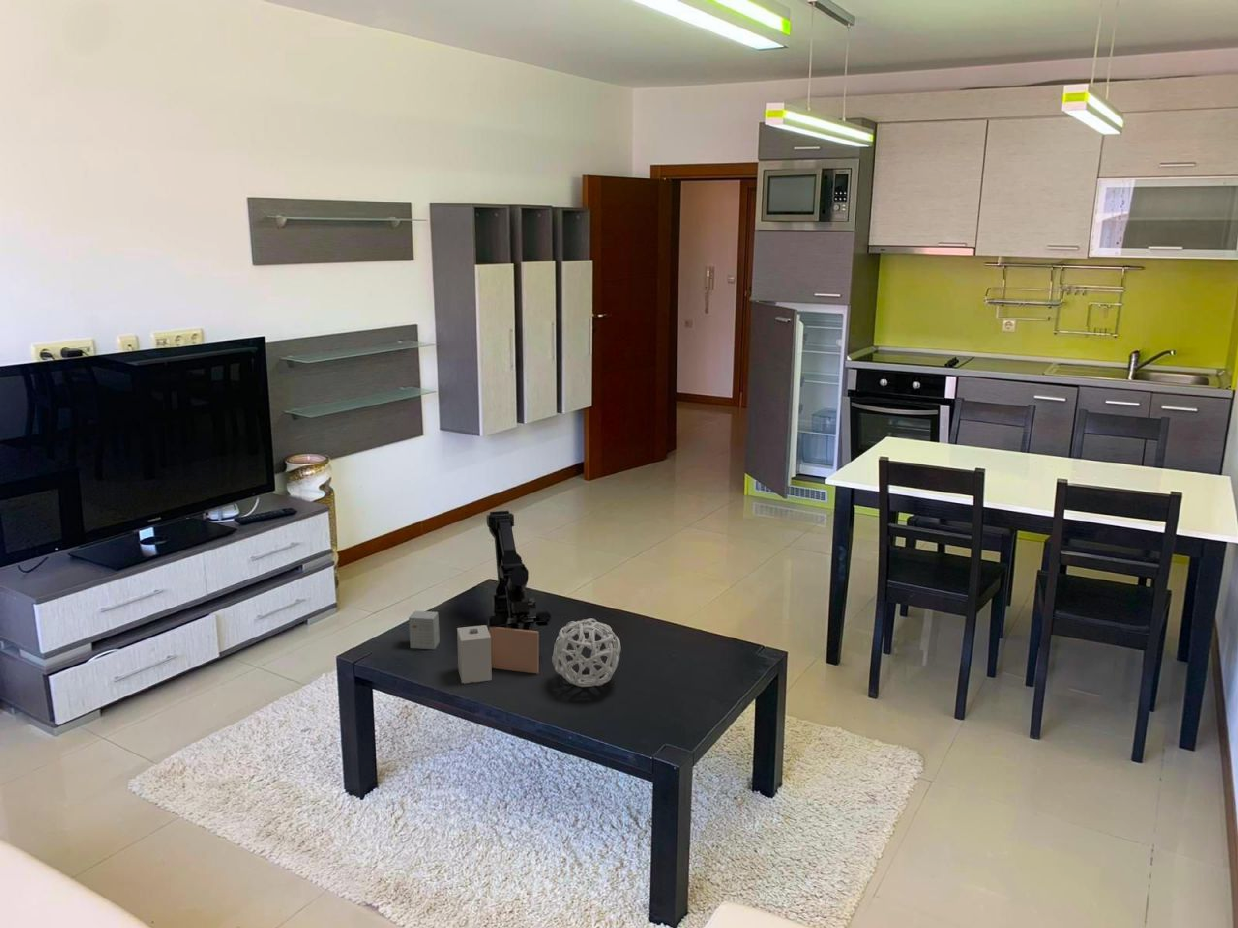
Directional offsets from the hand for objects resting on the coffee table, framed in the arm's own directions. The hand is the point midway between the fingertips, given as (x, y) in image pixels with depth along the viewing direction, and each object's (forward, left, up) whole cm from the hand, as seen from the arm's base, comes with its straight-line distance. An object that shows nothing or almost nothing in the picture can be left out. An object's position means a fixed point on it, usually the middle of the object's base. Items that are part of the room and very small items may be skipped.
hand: (522, 647), depth 274 cm
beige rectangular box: (+12, -8, -7) cm, 16 cm away
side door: (+2, -2, -7) cm, 7 cm away
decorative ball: (-7, +20, -7) cm, 22 cm away
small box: (+11, -34, -7) cm, 37 cm away
